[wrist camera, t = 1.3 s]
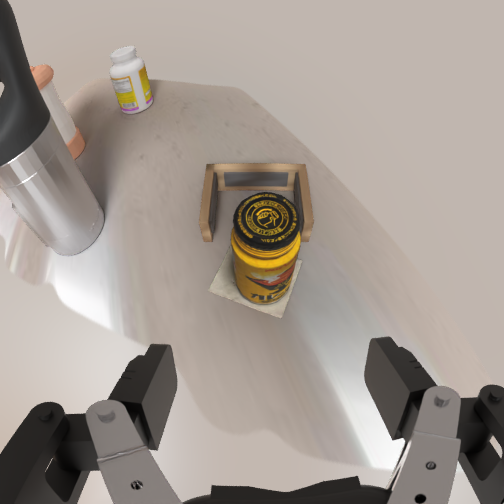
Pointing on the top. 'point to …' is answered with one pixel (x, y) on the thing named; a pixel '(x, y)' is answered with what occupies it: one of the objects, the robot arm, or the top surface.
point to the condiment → (261, 254)
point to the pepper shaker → (58, 110)
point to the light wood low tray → (255, 179)
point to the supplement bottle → (130, 80)
